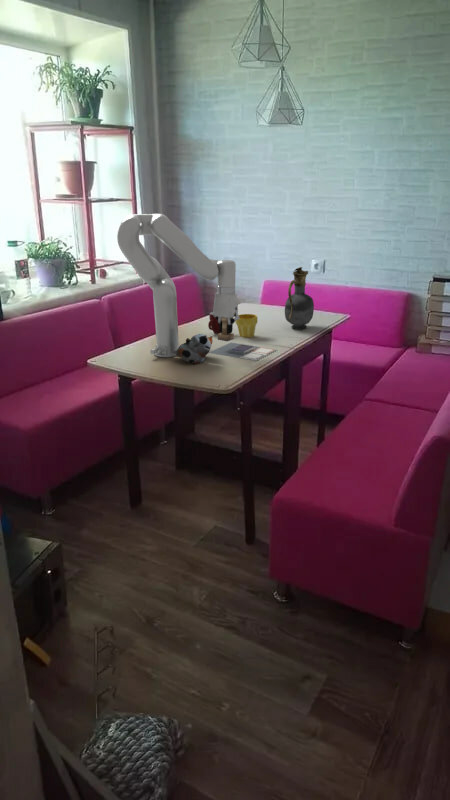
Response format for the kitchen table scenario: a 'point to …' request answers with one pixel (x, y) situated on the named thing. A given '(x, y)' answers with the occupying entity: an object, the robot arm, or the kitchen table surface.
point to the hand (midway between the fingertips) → (225, 332)
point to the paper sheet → (257, 353)
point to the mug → (213, 323)
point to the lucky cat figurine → (195, 348)
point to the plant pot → (247, 325)
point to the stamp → (225, 331)
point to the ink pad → (242, 349)
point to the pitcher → (299, 302)
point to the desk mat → (226, 350)
